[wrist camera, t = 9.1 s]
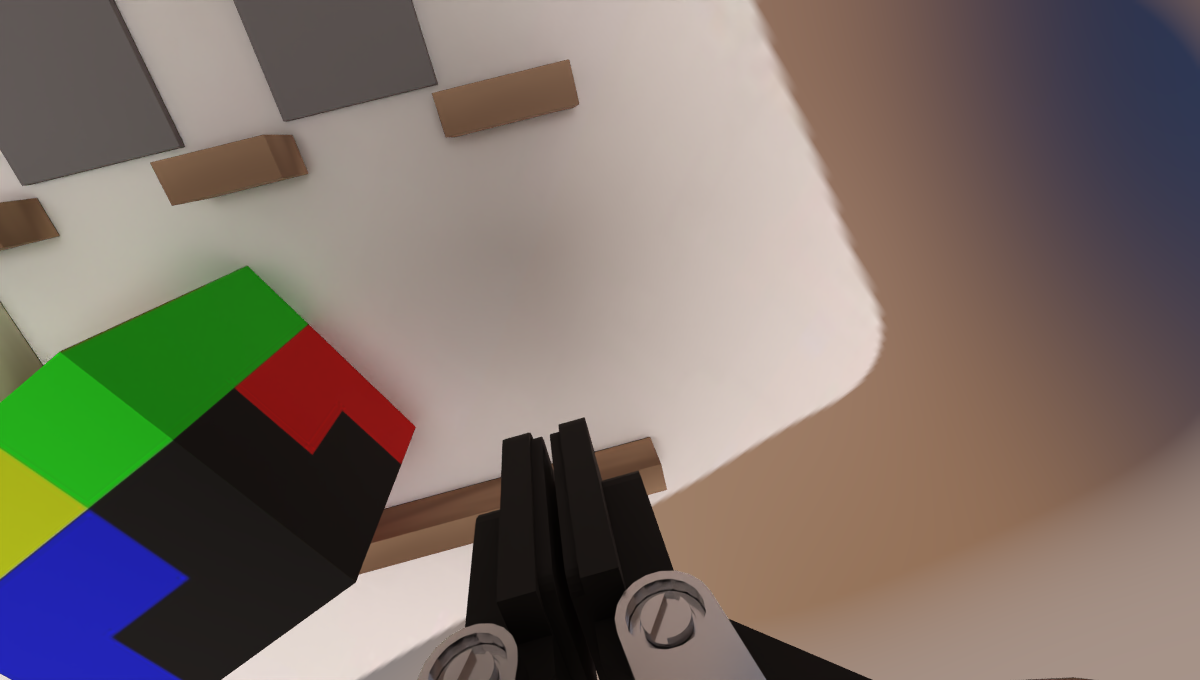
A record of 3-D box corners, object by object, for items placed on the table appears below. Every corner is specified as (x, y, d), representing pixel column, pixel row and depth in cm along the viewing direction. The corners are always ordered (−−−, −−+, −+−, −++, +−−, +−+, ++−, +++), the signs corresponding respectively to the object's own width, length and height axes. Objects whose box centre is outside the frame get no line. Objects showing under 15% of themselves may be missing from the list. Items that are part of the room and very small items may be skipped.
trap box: (-95, 230, 21) (-228, 250, 17) (564, 67, 22) (572, 53, 18) (162, 595, 28) (106, 666, 24) (655, 461, 29) (674, 509, 25)
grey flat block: (-118, -60, 18) (-128, -63, 18) (64, -102, 18) (57, -105, 18) (28, 184, 21) (22, 185, 21) (184, 146, 21) (179, 146, 21)
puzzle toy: (264, 540, 28) (131, 744, 18) (82, 402, 24) (-195, 568, 15) (415, 426, 27) (355, 582, 17) (247, 265, 23) (59, 351, 14)
